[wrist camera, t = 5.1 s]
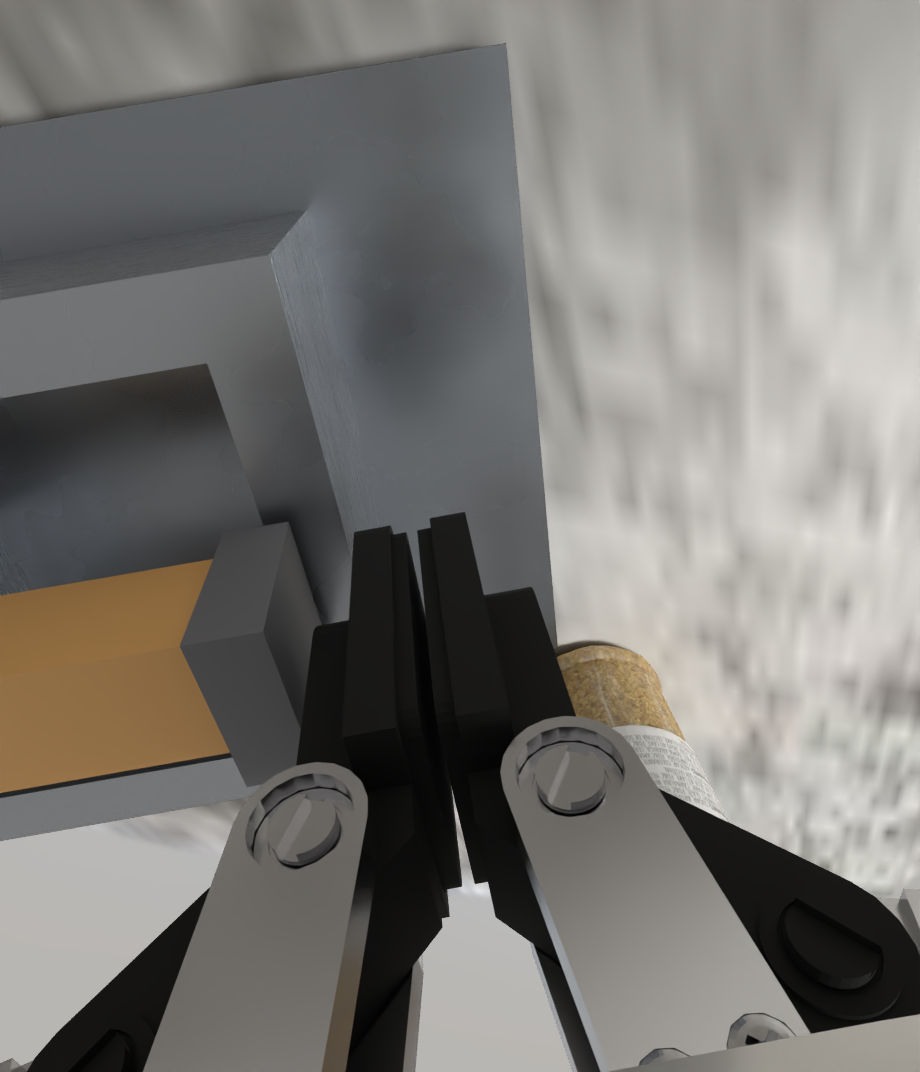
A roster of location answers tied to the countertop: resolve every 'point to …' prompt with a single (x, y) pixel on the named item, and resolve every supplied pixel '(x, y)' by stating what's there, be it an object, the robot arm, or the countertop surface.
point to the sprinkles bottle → (637, 718)
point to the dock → (264, 349)
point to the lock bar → (159, 666)
